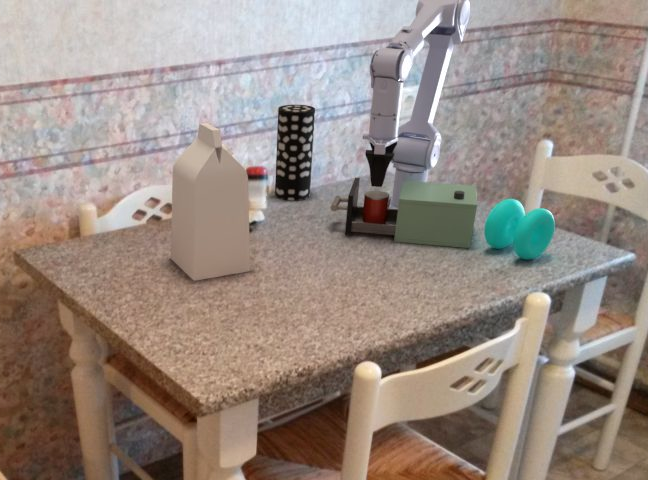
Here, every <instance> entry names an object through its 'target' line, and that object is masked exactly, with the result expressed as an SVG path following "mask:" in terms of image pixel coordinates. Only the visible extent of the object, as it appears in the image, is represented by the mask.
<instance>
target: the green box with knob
mask: <svg viewBox="0 0 648 480" xmlns="http://www.w3.org/2000/svg"><path fill="white" fill-rule="evenodd" d="M477 195H478V194H477V186H476V185H471V184H470V185H469V184H467V185H466V184H459V183H457V184H455V183H445V182H444V183H442V182H431V181H430V182H428V181H427V182H416V181H403V183H402V188H401V193H400V198H399V205H398V213H397V222H396V230H395V235H394V240H393V241H394V243H407V244H416V245H417V244H418V245H429V246H439V247H450V248H463V249H471V244H472V238H473V232H474V226H475V222H476V221H475V220H476V215H477V209H478V196H477Z"/></svg>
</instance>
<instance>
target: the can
mask: <svg viewBox="0 0 648 480" xmlns="http://www.w3.org/2000/svg"><path fill="white" fill-rule="evenodd" d="M389 199H390V194H389V193H387V192H385V191H381V190H369V191H366V192H364V197H363V206H362V207H363V217H362V222H370V223H382V224H386V218H387V209H389Z"/></svg>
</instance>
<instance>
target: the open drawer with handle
mask: <svg viewBox="0 0 648 480" xmlns="http://www.w3.org/2000/svg"><path fill="white" fill-rule="evenodd" d="M360 180H361V178H360V177H354V180H353V182H352V184H351V188H350V191H349V193H348V195H347V197H341V196H340V195H336V196H335V197H334V199H333V201H332V202H331V206H330V210H331V211H332V212H336V211H337V210H341V211H346V219H345V229H344V235H345V236H350V235H351V232H354V233H364V234H365V233H366V234H377V235H386V236H387V235H388V236H395V230H396V222H397V213H398V209H389V208H388V209H387V218H386V224H382V223H370V222H362V217H363V206H359V205H358V201H359V190H360V182H361V181H360ZM340 203H347V205H340Z"/></svg>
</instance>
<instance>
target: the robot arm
mask: <svg viewBox="0 0 648 480" xmlns="http://www.w3.org/2000/svg"><path fill="white" fill-rule="evenodd" d="M470 3H471V2H470V0H418V1H417V4H416V10H415V17H414V18H413V20H412V22H411V23H410V25H407V26H406V25H403V27H401V29H400V30H399V31H398V32H396V34H395V36H394V37H393V38H392V39H391V40H390V41H389V43H387V45H386V46H385V47H379V49H376V50H375V51H374V52H373V54H372V57H371V59H370V64H369V76H370V88H371V89H372V97H371V108H370V120H369V126H368V133H363V134H362V139H363V140H367V141H368V142H369V145H370V148H371V149H366V150H365V154H364V155H365V158H366V160H367V162H368V167H369V177H370V178H369V179H370V186H371V187H374V188H375V187H377V188H383V185H384V182H385V179H386V176H387V175H386V174H387V171H388V168H389V165H390V164H393V165H392V166H393V167H392V168H393V169H395V171H394V172H395V173H394V181H393V182H394V183H393V188H392V195H391V197H390V201H389V204H388V209H398V205H399V198H400V193H401V188H402V183H403V181H416V182H428V180H429V179H428V178H429V177H428V176H429V171H430V170H433V168H435V166H436V165H437V163H438V161H439V158H440V153H441V143H442V135H441V133H440V132H439V131H438V129H437V128H436V127H435V126H434V125H433V124H434V120H435V117H436V113H437V109H438V105H439V101H440V97H441V94H442V91H443V87H444V83H445V79H446V76H447V72H448V68H449V64H450V62H451V61H450V60H451V57H452V54H453V50H454V47H455V46H456V45H458V44H459V43H462V42H463V39H464V36H465V34H466V30H467V27H468V24H469V19H470V15H471V14H470V13H471V4H470ZM425 42H427V43H428V46H429V47H428V52H427V56H426V58H425V63H424V67H423V71H422V75H421V78H420V82H419V86H418V90H417V94H416V97H415V100H414V103H413V109H412V113H411V115H410V119H409V120H407V122H405V123H404V124H402V125H400V117H401V109H402V100H403V94H404V93H403V92H404V83H405V81H406V80H407V79H408V77H409V75H410V72H411V69H412V67H413V65H414V60H415V59H416V58H417V56H418V55H419V53H420V52H421V51H422V50H423V48H424V46H425Z"/></svg>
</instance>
